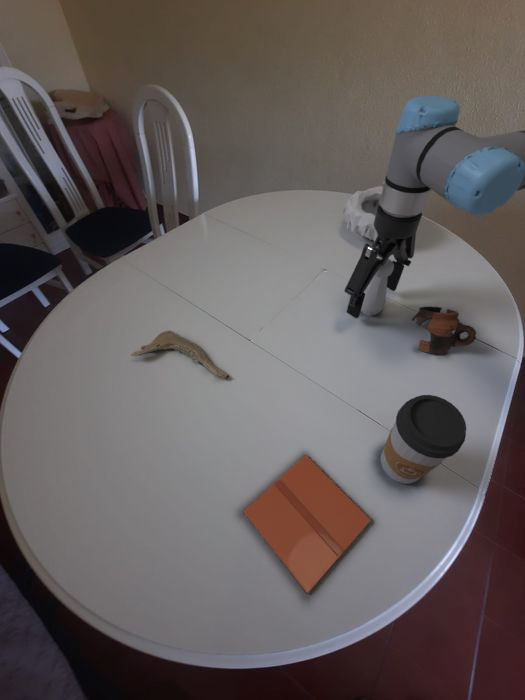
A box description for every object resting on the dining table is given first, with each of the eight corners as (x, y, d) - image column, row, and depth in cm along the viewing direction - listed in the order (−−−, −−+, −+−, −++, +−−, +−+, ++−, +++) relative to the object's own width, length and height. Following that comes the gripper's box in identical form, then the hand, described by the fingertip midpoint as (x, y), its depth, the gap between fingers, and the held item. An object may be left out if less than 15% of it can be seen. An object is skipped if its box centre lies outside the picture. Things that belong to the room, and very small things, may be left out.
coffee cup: (369, 479, 53) (396, 437, 41) (378, 433, 58) (404, 383, 46) (425, 500, 51) (471, 461, 39) (429, 450, 56) (471, 402, 44)
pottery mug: (402, 348, 70) (410, 309, 67) (413, 338, 77) (421, 302, 75) (468, 363, 64) (479, 320, 61) (474, 350, 71) (484, 312, 68)
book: (370, 521, 49) (371, 519, 48) (307, 594, 44) (307, 593, 43) (305, 456, 55) (305, 453, 55) (243, 512, 50) (243, 510, 49)
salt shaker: (376, 322, 74) (393, 274, 64) (352, 312, 77) (364, 264, 67) (386, 306, 78) (403, 258, 68) (362, 298, 80) (375, 250, 70)
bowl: (430, 242, 94) (445, 207, 86) (370, 263, 88) (380, 227, 81) (382, 209, 106) (391, 176, 98) (326, 225, 100) (331, 191, 93)
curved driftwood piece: (153, 331, 74) (151, 324, 73) (242, 349, 71) (242, 342, 70) (132, 360, 68) (129, 353, 67) (228, 382, 65) (228, 375, 63)
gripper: (421, 179, 65) (390, 269, 82) (336, 225, 55) (321, 318, 72) (457, 192, 62) (418, 284, 78) (374, 244, 52) (349, 337, 68)
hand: (371, 300), depth 75 cm, fingers open, 12 cm apart
